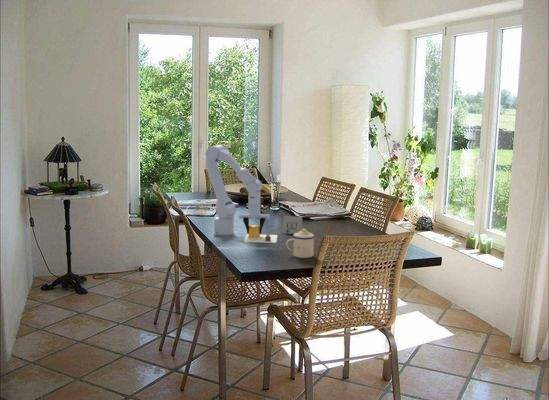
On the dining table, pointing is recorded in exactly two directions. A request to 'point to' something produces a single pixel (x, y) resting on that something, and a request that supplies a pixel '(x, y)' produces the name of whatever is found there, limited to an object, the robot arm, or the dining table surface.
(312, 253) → the teacup with lid
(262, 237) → the cover plate
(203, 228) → the dining table surface
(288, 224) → the electrical switch
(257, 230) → the orange cube
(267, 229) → the dining table surface
